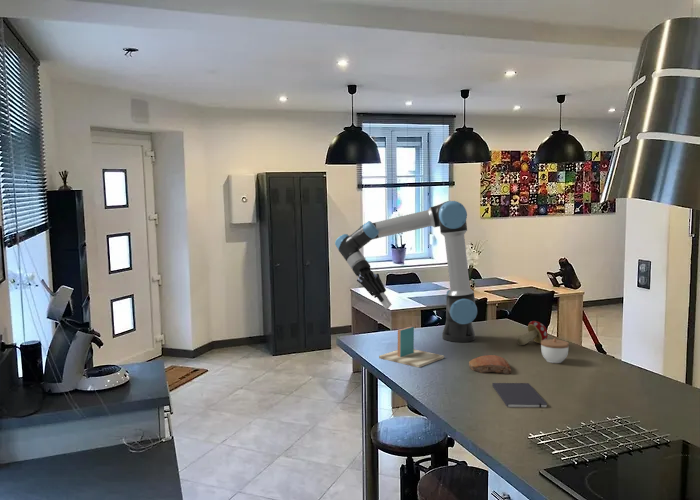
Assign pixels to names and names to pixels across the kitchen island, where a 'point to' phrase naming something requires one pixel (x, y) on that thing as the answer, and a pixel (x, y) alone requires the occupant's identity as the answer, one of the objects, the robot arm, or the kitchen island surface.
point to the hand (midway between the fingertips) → (388, 306)
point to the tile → (405, 341)
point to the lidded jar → (554, 350)
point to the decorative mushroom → (533, 333)
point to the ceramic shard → (490, 364)
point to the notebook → (519, 395)
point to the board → (412, 358)
